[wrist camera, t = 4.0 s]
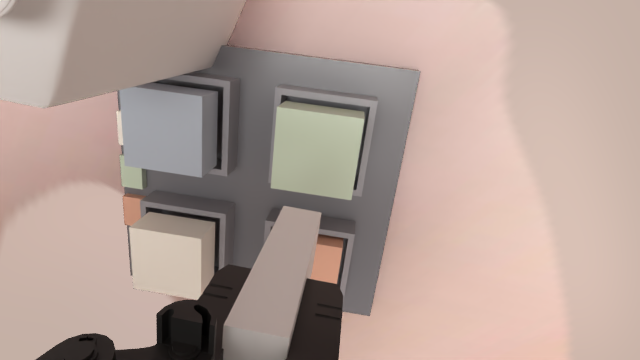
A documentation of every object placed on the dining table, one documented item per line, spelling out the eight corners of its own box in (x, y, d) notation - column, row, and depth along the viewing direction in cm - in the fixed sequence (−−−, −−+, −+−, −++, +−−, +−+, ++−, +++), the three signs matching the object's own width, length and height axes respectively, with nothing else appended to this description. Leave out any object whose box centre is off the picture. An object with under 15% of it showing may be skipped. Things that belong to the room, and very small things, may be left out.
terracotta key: (274, 276, 29) (266, 295, 26) (279, 221, 27) (271, 236, 25) (335, 286, 28) (333, 306, 26) (344, 231, 27) (342, 248, 25)
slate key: (146, 154, 25) (124, 165, 22) (142, 81, 23) (119, 84, 21) (216, 165, 24) (201, 177, 22) (218, 91, 23) (202, 96, 20)
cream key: (151, 269, 28) (133, 288, 25) (149, 211, 26) (129, 227, 24) (214, 279, 27) (200, 300, 25) (215, 222, 26) (201, 239, 24)
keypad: (137, 268, 32) (115, 290, 29) (122, 31, 25) (92, 29, 22) (369, 307, 31) (370, 334, 28) (418, 70, 24) (425, 73, 21)
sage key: (279, 174, 24) (270, 187, 22) (285, 100, 22) (277, 106, 20) (352, 185, 24) (351, 200, 22) (364, 111, 22) (364, 118, 20)
